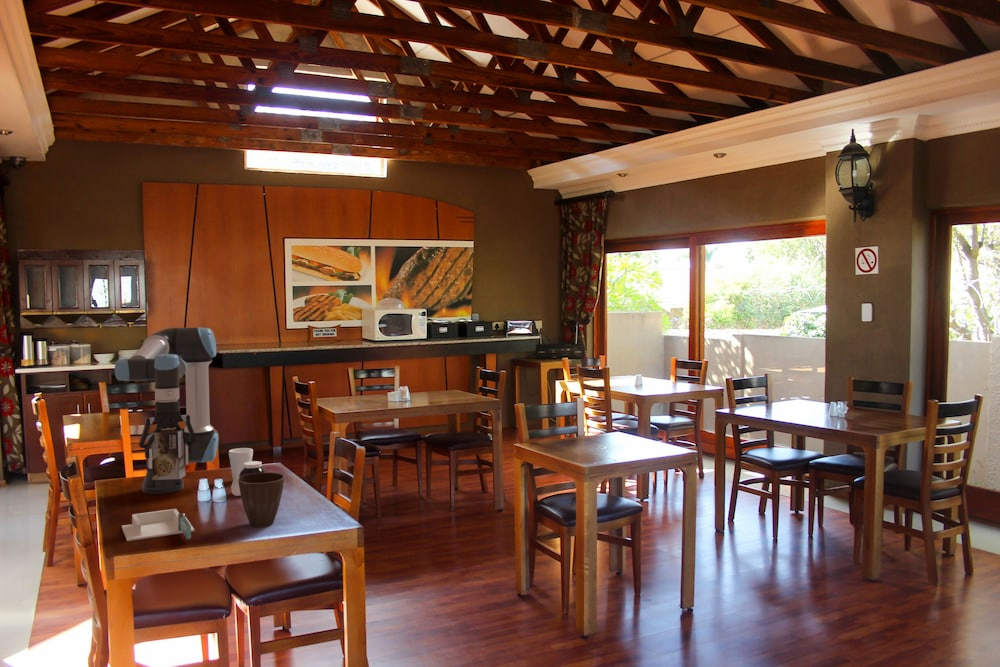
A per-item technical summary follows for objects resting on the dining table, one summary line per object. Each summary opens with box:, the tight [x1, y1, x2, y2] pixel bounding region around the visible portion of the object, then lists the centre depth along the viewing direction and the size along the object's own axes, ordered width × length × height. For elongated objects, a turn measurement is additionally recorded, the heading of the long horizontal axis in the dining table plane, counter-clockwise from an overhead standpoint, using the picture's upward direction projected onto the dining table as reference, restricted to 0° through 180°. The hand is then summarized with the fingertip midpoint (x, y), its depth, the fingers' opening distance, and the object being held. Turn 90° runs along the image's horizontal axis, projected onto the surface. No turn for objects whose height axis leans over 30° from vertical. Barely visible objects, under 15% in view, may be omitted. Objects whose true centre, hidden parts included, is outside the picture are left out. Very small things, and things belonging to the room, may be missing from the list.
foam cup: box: [228, 447, 254, 482], centre depth 320 cm, size 10×9×13 cm
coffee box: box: [150, 428, 186, 480], centre depth 258 cm, size 9×6×16 cm
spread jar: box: [230, 460, 267, 497], centre depth 301 cm, size 12×11×12 cm
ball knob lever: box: [178, 512, 192, 540], centre depth 246 cm, size 15×2×5 cm, turn 31°
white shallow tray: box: [121, 508, 195, 542], centre depth 254 cm, size 17×20×4 cm
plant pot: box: [238, 472, 285, 528], centre depth 260 cm, size 15×15×16 cm
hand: (168, 466), depth 258 cm, fingers closed on coffee box, 10 cm apart
